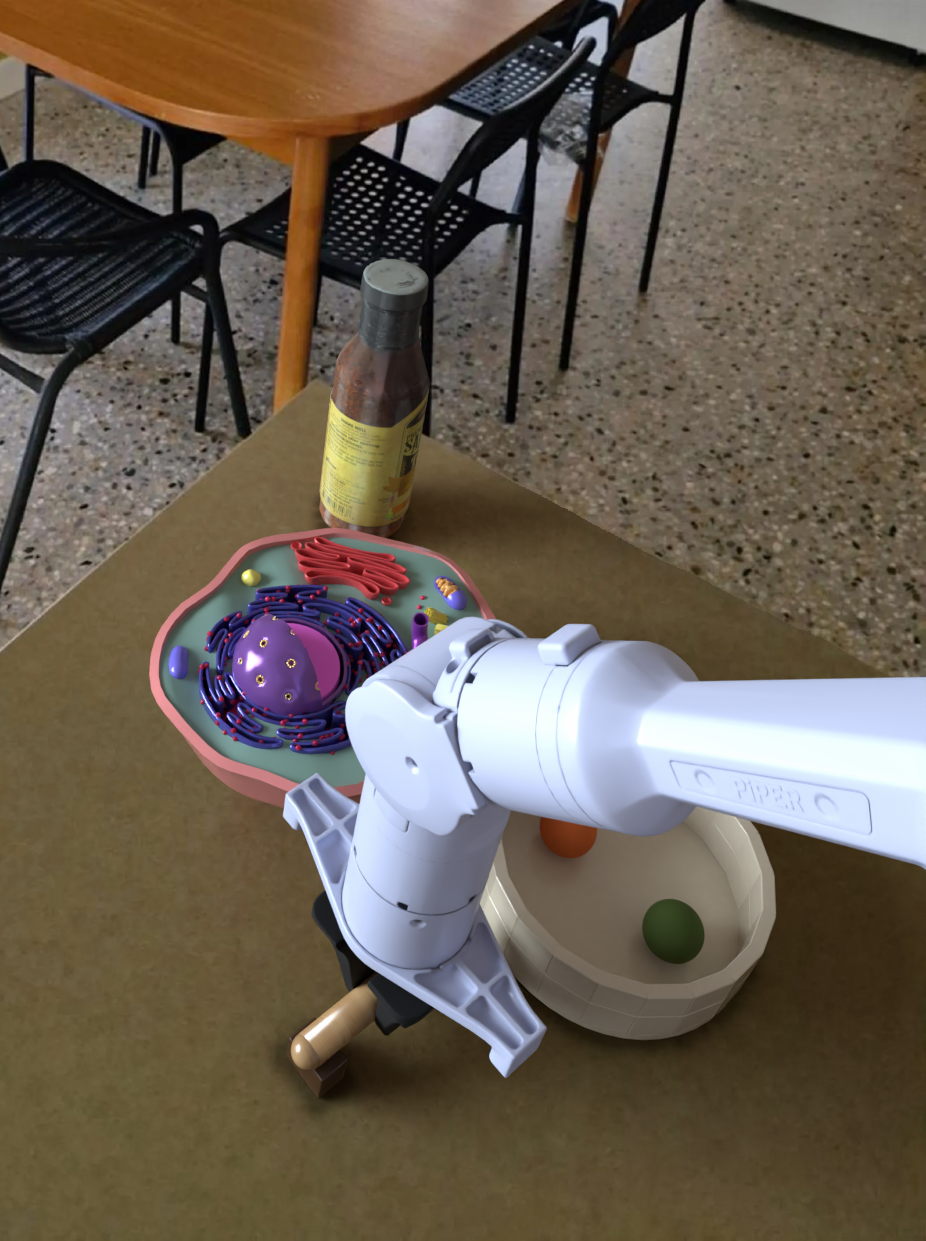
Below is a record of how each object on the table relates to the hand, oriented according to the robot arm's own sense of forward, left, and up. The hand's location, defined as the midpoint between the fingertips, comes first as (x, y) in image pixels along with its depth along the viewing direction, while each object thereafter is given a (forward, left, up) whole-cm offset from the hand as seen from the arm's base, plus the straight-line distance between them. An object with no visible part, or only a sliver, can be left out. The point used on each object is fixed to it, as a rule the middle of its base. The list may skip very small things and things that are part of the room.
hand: (381, 999), depth 60 cm
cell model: (+14, -8, -2) cm, 16 cm away
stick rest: (0, 0, -2) cm, 2 cm away
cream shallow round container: (-3, -14, -2) cm, 14 cm away
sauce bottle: (+26, -22, -2) cm, 34 cm away
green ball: (-6, -14, 0) cm, 15 cm away
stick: (0, 0, 0) cm, 0 cm away
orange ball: (+1, -14, 0) cm, 14 cm away
